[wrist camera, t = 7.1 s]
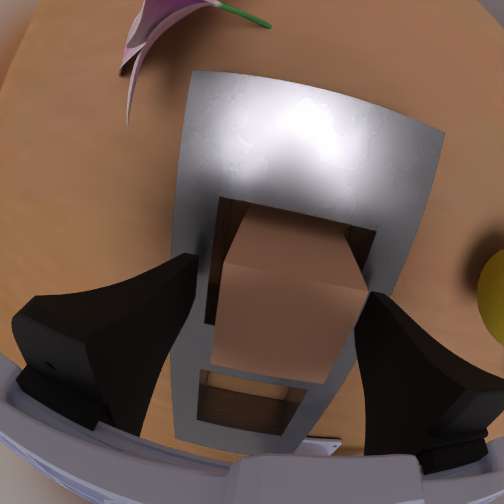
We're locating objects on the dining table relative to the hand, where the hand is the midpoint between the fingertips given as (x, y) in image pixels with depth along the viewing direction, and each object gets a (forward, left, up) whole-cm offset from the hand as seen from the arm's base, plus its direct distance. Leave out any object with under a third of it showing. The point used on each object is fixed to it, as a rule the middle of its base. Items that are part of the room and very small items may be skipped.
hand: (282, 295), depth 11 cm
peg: (0, 0, -4) cm, 5 cm away
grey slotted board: (-5, 0, -4) cm, 7 cm away
